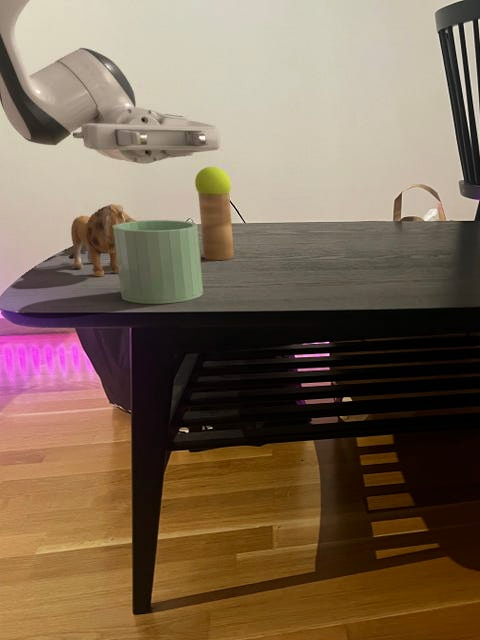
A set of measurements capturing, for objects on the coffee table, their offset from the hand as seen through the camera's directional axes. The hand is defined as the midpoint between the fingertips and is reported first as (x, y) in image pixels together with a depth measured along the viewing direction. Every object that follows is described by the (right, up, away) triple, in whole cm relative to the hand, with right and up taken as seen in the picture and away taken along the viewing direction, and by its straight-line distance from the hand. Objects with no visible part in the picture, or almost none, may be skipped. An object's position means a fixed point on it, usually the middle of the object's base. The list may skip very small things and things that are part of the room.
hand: (173, 139), depth 106 cm
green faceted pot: (+10, -26, -25) cm, 38 cm away
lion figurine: (-3, -22, -14) cm, 26 cm away
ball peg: (+8, -18, -3) cm, 20 cm away
